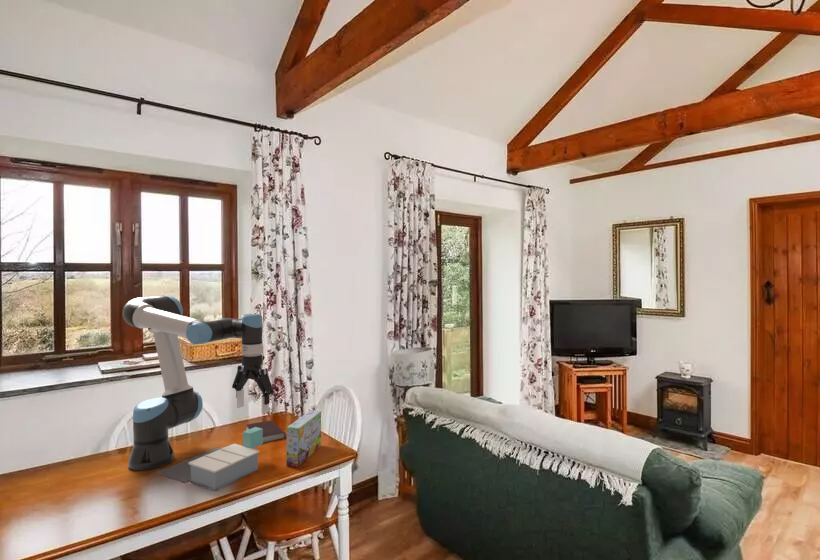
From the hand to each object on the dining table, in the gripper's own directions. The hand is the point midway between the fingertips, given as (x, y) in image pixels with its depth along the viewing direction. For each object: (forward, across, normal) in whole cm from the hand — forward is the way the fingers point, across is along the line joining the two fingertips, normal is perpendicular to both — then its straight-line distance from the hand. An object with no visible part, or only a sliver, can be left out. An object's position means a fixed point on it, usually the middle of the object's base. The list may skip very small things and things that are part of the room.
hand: (252, 409), depth 167 cm
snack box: (+21, +13, +15) cm, 28 cm away
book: (+21, -19, +24) cm, 37 cm away
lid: (+14, 0, -9) cm, 17 cm away
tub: (+20, 0, -12) cm, 24 cm away
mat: (+21, -16, -10) cm, 28 cm away
